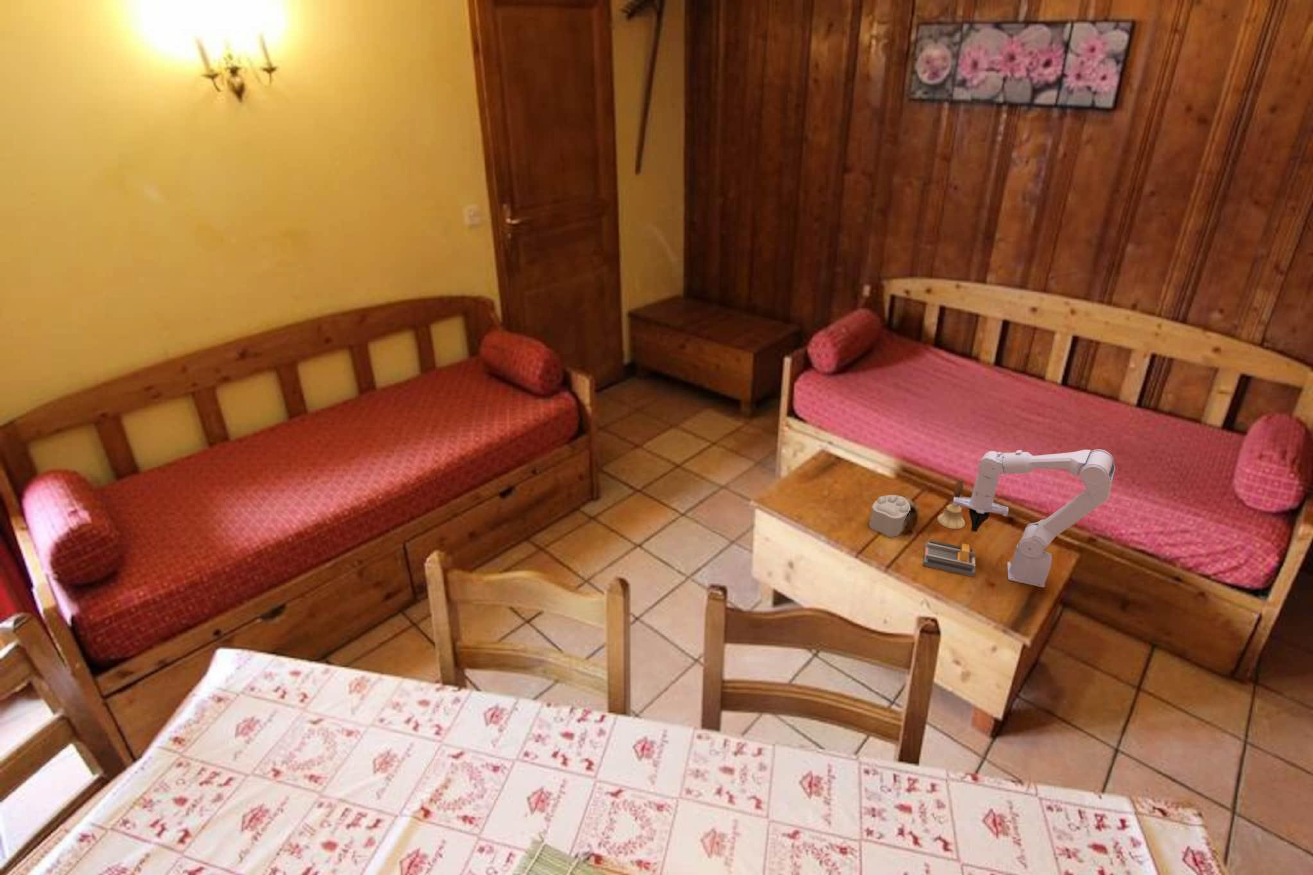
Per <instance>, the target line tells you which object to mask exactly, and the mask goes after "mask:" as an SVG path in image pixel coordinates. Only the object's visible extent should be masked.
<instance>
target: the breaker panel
mask: <svg viewBox="0 0 1313 875" xmlns="http://www.w3.org/2000/svg"><path fill="white" fill-rule="evenodd" d="M961 547H962V545H961V546H960V545H955V544H951V543H945V542H941V541H936V540H931V539H930V540H929V542H928V541H925V545H924V554H923V562H922V563H923V565H922V566H923V567H928V568H932V569H936V570H941V571H945V572H948V573H949V572H950V573H955V574H958V575H962V576H968V577H972V578H974V577H975V575H976V551H973V550H974V549H973V548H970V552H969V563H968V562H963V561H959V560H957V555H958V552H960V550H961Z"/></svg>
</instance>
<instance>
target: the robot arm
mask: <svg viewBox="0 0 1313 875" xmlns="http://www.w3.org/2000/svg"><path fill="white" fill-rule="evenodd" d="M977 469H978V473H977V475H976V478H975V480H974V481H975V482H974V486H973V488H972V489H973V490H972V494H971V497H959V498H958V497H954V496H953V499H952V502H953V506H960V507H961V508H962V507H963V508H968V515H969V518H970V521H971V526H970V530H971V532H974V533H977V532H978V529H979V528H980V527H981V525H982V524H983V523H984V522H985V521H987V520H988V519H989V517H990V513H993V514H1000V515H1002V516H1003V517H1007V516H1008V513H1009V507H1008V506H1004V505H1001V504H998V503H995V502H994V499H995V497H996V496H995V495H996V491H997V488H998V485H999V482H1000V475H1009V474H1012V475H1013V474H1029V473H1031V472H1032V471H1033V470H1034V469H1037V470H1038V469H1040V470H1041V469H1042V470H1043V469H1044V470H1067V471H1068V472H1069V473H1070V474H1071V475H1072V476H1073V477H1075V478H1077V477H1078V476H1079V478H1080V480H1081V482H1082V483H1083V485H1084V487H1085V490H1082V492H1080V493H1079V494H1078V495H1077V496H1075V497H1073V498H1072V499H1071V500H1070V501H1068V502H1067V503H1066V504H1064V505H1063V506H1062V507H1060V508H1059V509H1057V510H1056V511H1055V512H1053V513H1052V514H1051V515H1050V516H1048V517H1047V518H1046V519H1045V518H1044V519H1040V520H1039V521H1037V522H1032V523H1029V524H1027V525H1026V527H1025V528H1024V532H1023V533H1022V535H1021V538H1020V540H1019V541H1018V543H1017V544H1016V547H1015V550H1014V554H1013V557H1012V561H1008V562H1007V564H1006V567H1007V580H1009V581H1013V582H1016V583H1021V584H1026V585H1030V586H1036V587H1039V588H1045V587H1046V582H1047V580H1048V579H1047V578H1048V576H1049V573H1050V570H1051V566H1052V561H1053V557H1052V556H1053V555H1052V553H1050V552H1047V551H1045V549H1046V548H1048V547H1049V546H1050V544H1051V543H1052V542H1053V540H1054V539H1055V538H1056V537H1057V536H1058V535H1060V534H1061V533H1063V532H1064V531H1066V530H1067V529H1069V528H1070V527H1072V526H1073V525H1074V524H1075V523H1077V522H1078V521H1080V520H1081V519H1083V518H1084V517H1086V516H1087V515H1088V514H1090V513H1091V512H1092V511H1094V510H1095V509H1097V508H1098V507H1099V506H1101V505H1102V504H1104V503H1105V502H1106V501H1107V500H1108V499H1109V497H1110V492H1111V490H1112V489H1111V488H1112V484H1113V480H1114V475H1115V470H1116V465H1115V460H1114V457H1113V455H1112V454H1111V453H1110V452H1108V451H1107V450H1105V449H1099V448H1098V449H1093V450H1091V449H1081V450H1077V451H1072V452H1062V453H1053V454H1052V453H1051V454H1042V455H1040V454H1039V455H1033V454H1031V453H1030V452H1029V451H1023V450H1022V449H1019V450H1017V449H1016V451H1015V452H1002V451H998V452H997V451H995V450H990V451H987V452H986V453H985V454H984V455H983V456H982V458H981V459H980V460H979V462H978V464H977Z"/></svg>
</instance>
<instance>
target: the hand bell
mask: <svg viewBox="0 0 1313 875" xmlns="http://www.w3.org/2000/svg"><path fill="white" fill-rule="evenodd" d="M963 482H964V480H963V478H958V479H957V480H956V482H955V484H954V486H953V498H954V497H958V498H961V497H960V496H961V495H962V493H963V491H964V483H963ZM962 511H963V510H962V506H953V501H952V503H951V504H950V503H949V504H948V505H946V507H945V510H944V511H943V513H940V514H939V515H938V516H937V522H938V523H939V524H940V525H941V526H943V527H945V528H948V529H952V530H959V529H963V528H964V527H965V526H966V522H965V520H964V518H963V516H962Z"/></svg>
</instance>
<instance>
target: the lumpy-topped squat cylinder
mask: <svg viewBox="0 0 1313 875" xmlns="http://www.w3.org/2000/svg"><path fill="white" fill-rule="evenodd" d="M909 511H910V512H911V504H910V502H909V501H908V499H907V498H906V497H904V496H902V495H901V496H900V495H897V494H888V495H881V496H879V497H878V498H877V499H876V500H875V501H874V503H872V506H871V511H870V516H869V522H868V526H869V528H870V530H872V531H875V532H878V533H880V534H883V535H885V536H886V537H889V538H894V537H895V536H896V537H898V536H900V535H901V534H900V530H901V526H902V524H903V522H904V520H905V518H906V516H907V514H908V513H909ZM909 514H910V513H909ZM899 534H900V535H899ZM896 537H895V538H896Z"/></svg>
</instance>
